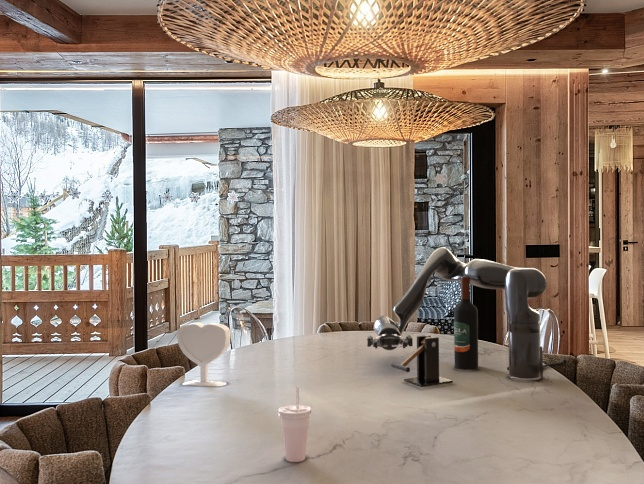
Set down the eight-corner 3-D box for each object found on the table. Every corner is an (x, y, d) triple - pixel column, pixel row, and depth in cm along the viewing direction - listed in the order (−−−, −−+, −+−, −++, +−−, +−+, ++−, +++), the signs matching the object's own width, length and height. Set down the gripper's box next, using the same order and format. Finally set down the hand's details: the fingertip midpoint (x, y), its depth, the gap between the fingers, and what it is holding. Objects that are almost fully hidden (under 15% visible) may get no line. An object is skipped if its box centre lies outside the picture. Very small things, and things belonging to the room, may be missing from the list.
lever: (408, 374, 169) (404, 368, 168) (393, 369, 176) (389, 363, 175) (440, 345, 174) (437, 338, 174) (425, 341, 181) (421, 334, 181)
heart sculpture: (176, 384, 179) (175, 324, 179) (184, 380, 184) (183, 321, 184) (225, 386, 176) (224, 325, 176) (232, 382, 181) (231, 322, 181)
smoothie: (305, 466, 114) (304, 391, 114) (273, 462, 115) (272, 389, 115) (316, 454, 120) (315, 383, 120) (286, 451, 122) (285, 382, 121)
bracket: (421, 389, 170) (420, 340, 170) (404, 383, 178) (403, 336, 178) (452, 384, 176) (452, 337, 176) (434, 378, 184) (434, 333, 184)
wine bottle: (481, 371, 193) (480, 277, 193) (458, 372, 192) (457, 277, 192) (473, 366, 201) (472, 276, 200) (451, 367, 199) (450, 276, 199)
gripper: (410, 347, 200) (413, 357, 184) (367, 348, 201) (367, 357, 184) (410, 325, 200) (413, 332, 184) (367, 325, 201) (366, 332, 184)
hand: (390, 345), depth 184 cm, fingers open, 8 cm apart
